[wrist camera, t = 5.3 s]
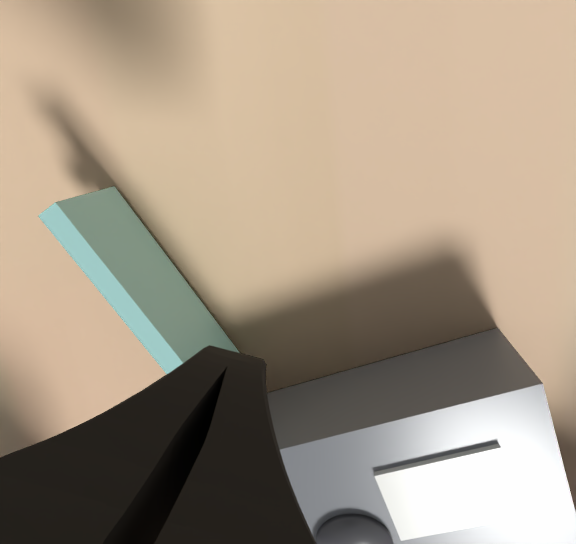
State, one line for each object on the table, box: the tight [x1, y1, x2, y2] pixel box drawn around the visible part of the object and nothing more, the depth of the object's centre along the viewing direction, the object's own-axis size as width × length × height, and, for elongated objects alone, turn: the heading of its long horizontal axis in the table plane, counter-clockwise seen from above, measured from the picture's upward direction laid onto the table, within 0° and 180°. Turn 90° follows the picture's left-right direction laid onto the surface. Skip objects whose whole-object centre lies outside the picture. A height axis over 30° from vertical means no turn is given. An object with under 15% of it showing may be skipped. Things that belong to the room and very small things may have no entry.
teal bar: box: [39, 186, 240, 374], centre depth 16 cm, size 10×2×4 cm, turn 34°
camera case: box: [267, 328, 576, 544], centre depth 18 cm, size 11×8×4 cm
